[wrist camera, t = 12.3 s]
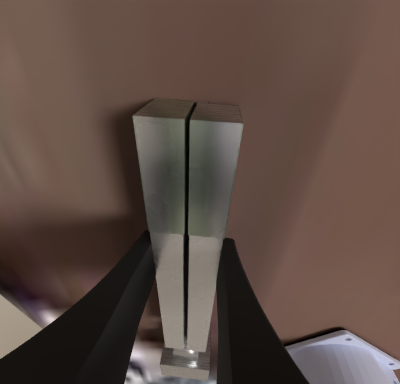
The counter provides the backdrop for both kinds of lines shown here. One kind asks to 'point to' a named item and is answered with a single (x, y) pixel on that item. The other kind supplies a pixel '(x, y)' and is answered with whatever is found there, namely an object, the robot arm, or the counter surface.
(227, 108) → the bar
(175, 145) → the arm
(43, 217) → the counter surface
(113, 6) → the counter surface
